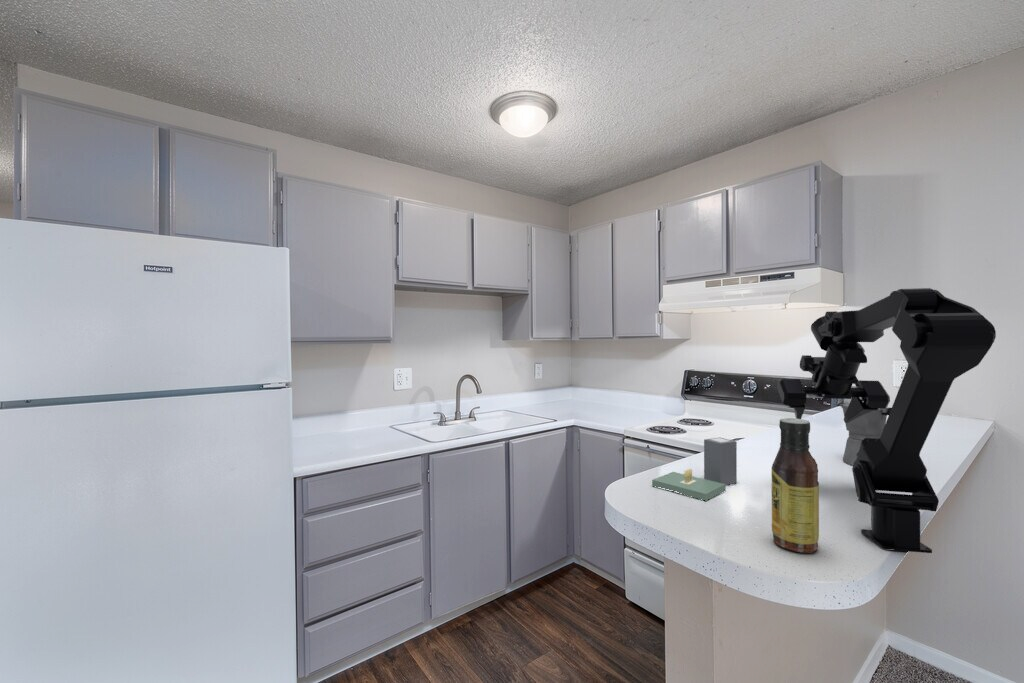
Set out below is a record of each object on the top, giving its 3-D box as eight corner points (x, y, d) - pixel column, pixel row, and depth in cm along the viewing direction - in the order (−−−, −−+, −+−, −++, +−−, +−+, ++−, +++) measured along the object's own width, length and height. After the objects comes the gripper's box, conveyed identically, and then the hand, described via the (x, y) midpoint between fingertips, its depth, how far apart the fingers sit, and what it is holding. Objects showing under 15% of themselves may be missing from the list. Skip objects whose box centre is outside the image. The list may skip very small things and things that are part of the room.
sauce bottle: (775, 533, 74) (775, 414, 74) (820, 544, 70) (820, 418, 70) (768, 547, 69) (767, 420, 69) (816, 560, 65) (816, 425, 65)
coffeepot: (826, 459, 119) (826, 392, 119) (853, 456, 122) (853, 391, 122) (887, 476, 104) (887, 400, 104) (917, 473, 107) (917, 398, 107)
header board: (725, 491, 94) (725, 472, 94) (705, 501, 88) (705, 481, 88) (673, 478, 103) (673, 461, 103) (652, 486, 97) (652, 468, 97)
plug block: (736, 483, 99) (736, 441, 99) (720, 486, 97) (720, 443, 97) (719, 478, 103) (719, 437, 103) (704, 480, 101) (704, 439, 101)
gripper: (877, 342, 92) (856, 396, 101) (777, 342, 97) (765, 394, 106) (903, 377, 84) (876, 433, 93) (791, 375, 89) (777, 429, 98)
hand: (821, 420), depth 97 cm, fingers open, 9 cm apart
